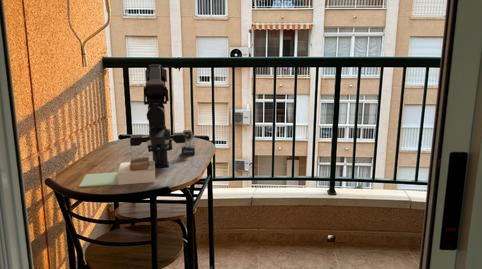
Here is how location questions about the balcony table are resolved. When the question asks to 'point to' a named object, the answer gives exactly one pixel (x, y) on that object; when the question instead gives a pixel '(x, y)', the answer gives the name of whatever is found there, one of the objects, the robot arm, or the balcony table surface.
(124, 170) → the block
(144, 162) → the walnut tile
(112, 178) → the sage green mat
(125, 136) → the balcony table surface
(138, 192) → the balcony table surface
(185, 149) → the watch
